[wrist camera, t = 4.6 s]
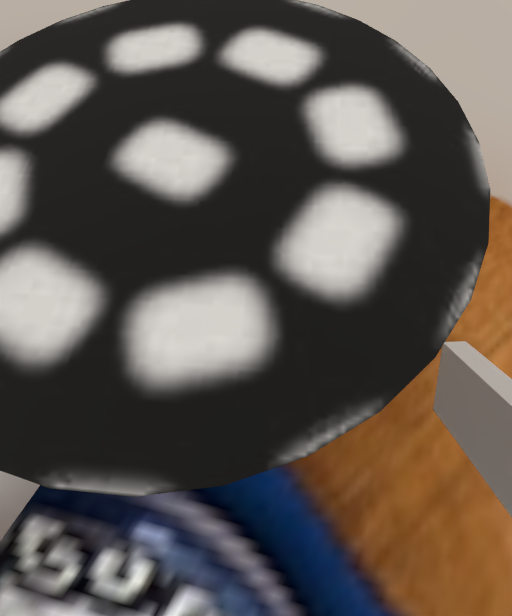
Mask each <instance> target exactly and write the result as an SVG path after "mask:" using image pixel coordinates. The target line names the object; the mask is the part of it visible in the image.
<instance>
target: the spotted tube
mask: <svg viewBox="0 0 512 616" xmlns="http://www.w3.org/2000/svg"><path fill="white" fill-rule="evenodd" d="M489 210H490V187H489V183H488V178H487V174H486V170H485V166H484V161H483V157H482V153H481V148H480V144H479V141H478V139H477V137H476V136H475V134H474V132H473V130H472V128H471V126H470V124H469V122H468V120H467V118H466V116H465V114H464V112H463V111H462V108H461V106H460V105H459V103H458V101H457V100H456V99H455V98H454V96H453V95H452V94H451V93H450V92H449V90H448V89H447V88H446V87H445V86H444V84H443V83H442V82H441V81H440V80H439V79H438V77H437V76H436V75H435V74H434V73H433V71H432V70H431V69H430V68H429V67H427V66H426V65H425V64H424V63H423V62H421V61H420V60H419V59H418V58H417V57H415V56H414V55H413V54H412V53H410V52H409V51H408V50H406V49H405V48H404V47H403V46H402V45H400V44H399V43H398V42H396V41H395V40H393V39H391V38H390V37H388V36H386V35H384V34H382V33H381V32H379V31H377V30H375V29H373V28H372V27H369V26H368V25H366V24H364V23H362V22H361V21H359V20H356V19H354V18H351V17H349V16H346V15H343V14H340V13H338V12H335V11H333V10H330V9H327V8H325V7H322V6H319V5H315V4H311V3H307V2H302V1H298V0H129V1H125V2H120V3H116V4H112V5H107V6H103V7H100V8H97V9H94V10H91V11H88V12H85V13H82V14H79V15H76V16H73V17H70V18H67V19H65V20H62V21H59V22H57V23H55V24H53V25H51V26H48V27H46V28H44V29H42V30H40V31H38V32H36V33H34V34H31V35H29V36H27V37H25V38H23V39H21V40H19V41H17V42H15V43H14V44H12V45H10V46H9V47H8V48H6V49H4V50H2V51H1V52H0V471H2V472H5V473H8V474H11V475H14V476H16V477H19V478H22V479H25V480H28V481H30V482H33V483H36V484H39V485H42V486H44V487H47V488H53V489H63V490H73V491H83V492H93V493H103V494H113V495H123V496H133V497H136V496H144V495H152V494H160V493H168V492H176V491H184V490H192V489H200V488H208V487H216V486H224V485H227V484H230V483H232V482H235V481H238V480H241V479H244V478H247V477H250V476H252V475H255V474H258V473H261V472H264V471H267V470H269V469H272V468H275V467H278V466H281V465H284V464H286V463H289V462H292V461H295V460H298V459H301V458H303V457H306V456H309V455H310V454H312V453H314V452H315V451H317V450H319V449H320V448H322V447H323V446H325V445H327V444H328V443H330V442H331V441H333V440H335V439H336V438H338V437H340V436H341V435H343V434H344V433H346V432H348V431H349V430H351V429H353V428H354V427H356V426H357V425H359V424H361V423H362V422H364V421H365V420H367V419H369V418H370V417H372V416H374V415H375V414H377V413H378V412H380V411H381V410H382V409H383V408H384V407H385V406H386V405H387V404H388V403H389V402H390V401H391V400H392V399H393V398H394V397H395V396H396V395H397V394H398V393H399V392H400V391H402V390H403V389H404V388H405V387H406V386H407V385H408V384H409V383H410V382H411V381H412V380H413V379H414V378H415V377H416V376H417V375H418V374H419V373H420V372H421V371H422V370H423V369H424V368H425V367H426V366H427V365H428V364H429V363H430V362H431V361H432V360H433V359H434V358H435V357H436V355H437V354H438V352H439V350H440V349H441V347H442V345H443V344H444V342H445V341H446V339H447V337H448V336H449V334H450V333H451V331H452V329H453V328H454V326H455V324H456V323H457V321H458V320H459V318H460V316H461V315H462V313H463V312H464V310H465V308H466V307H467V305H468V304H469V302H470V300H471V297H472V294H473V291H474V288H475V285H476V281H477V278H478V275H479V272H480V268H481V265H482V262H483V259H484V255H485V252H486V249H487V246H488V239H489Z"/></svg>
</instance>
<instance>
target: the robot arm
mask: <svg viewBox="0 0 512 616" xmlns="http://www.w3.org/2000/svg"><path fill="white" fill-rule="evenodd" d="M433 410H434V411H435V412H436V414H437V415H438V416H439V418H440V419H441V421H442V422H443V423H444V425H445V426H446V427H447V429H448V430H449V432H450V433H451V434H452V436H453V437H454V438H455V440H456V441H457V443H458V444H459V445H460V447H461V448H462V449H463V451H464V452H465V454H466V455H467V456H468V458H469V459H470V460H471V462H472V463H473V465H474V466H475V467H476V469H477V470H478V471H479V473H480V474H481V476H482V477H483V478H484V480H485V481H486V482H487V484H488V485H489V487H490V488H491V489H492V491H493V492H494V493H495V495H496V496H497V498H498V499H499V500H500V502H501V503H502V504H503V506H504V507H505V508H506V510H507V511H508V513H509V514H510V515H511V517H512V379H511V378H510V377H508V376H507V375H506V374H505V373H503V372H502V371H501V370H500V369H499V368H497V367H496V366H495V365H494V364H493V363H491V362H490V361H489V360H488V359H486V358H485V357H484V356H483V355H482V354H480V353H479V352H478V351H477V350H476V349H474V348H473V347H472V346H471V345H469V344H468V343H467V342H466V341H463V342H444V344H443V346H442V353H441V360H440V366H439V373H438V380H437V387H436V394H435V401H434V408H433ZM39 486H40V485H39V484H36V483H33V482H30V481H28V480H25V479H22V478H19V477H16V476H14V475H11V474H8V473H5V472H2V471H0V541H1V539H2V538H3V537H4V535H5V534H6V532H7V531H8V530H9V528H10V527H11V525H12V524H13V523H14V521H15V520H16V518H17V517H18V516H19V514H20V513H21V511H22V510H23V508H24V507H25V506H26V504H27V503H28V501H29V500H30V499H31V497H32V496H33V494H34V493H35V492H36V490H37V489H38V487H39Z"/></svg>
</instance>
